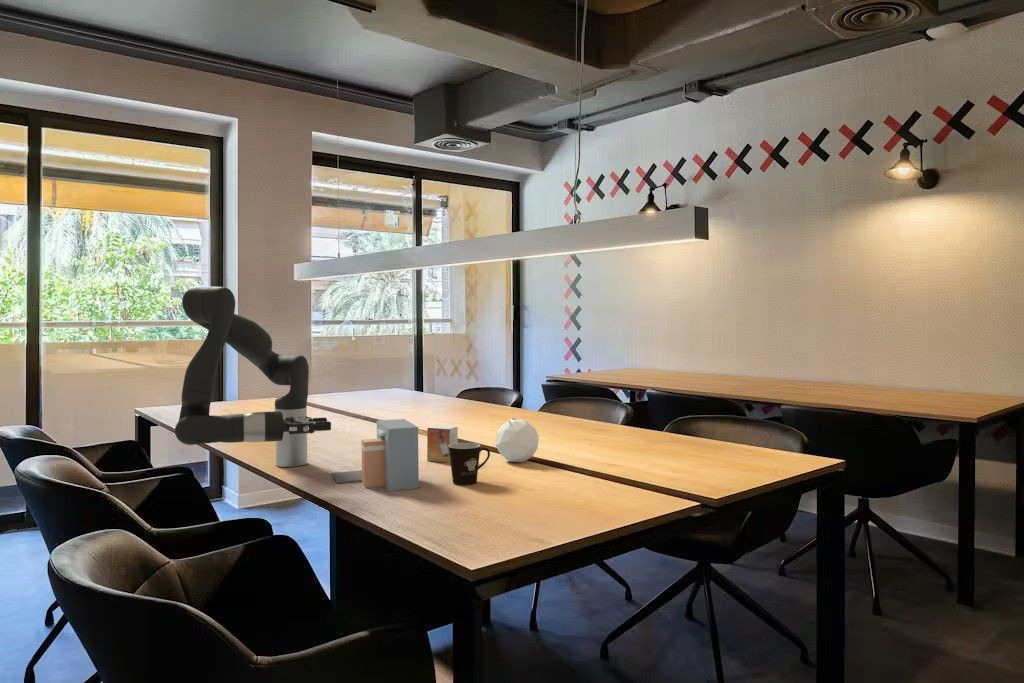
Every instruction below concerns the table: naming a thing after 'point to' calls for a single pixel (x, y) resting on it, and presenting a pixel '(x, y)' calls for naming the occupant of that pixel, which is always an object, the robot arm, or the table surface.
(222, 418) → the robot arm
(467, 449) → the coffee mug
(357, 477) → the mat
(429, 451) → the small box
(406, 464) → the dispenser
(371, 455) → the small cardboard carton
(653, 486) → the table surface
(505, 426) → the geodesic sphere
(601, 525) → the table surface
